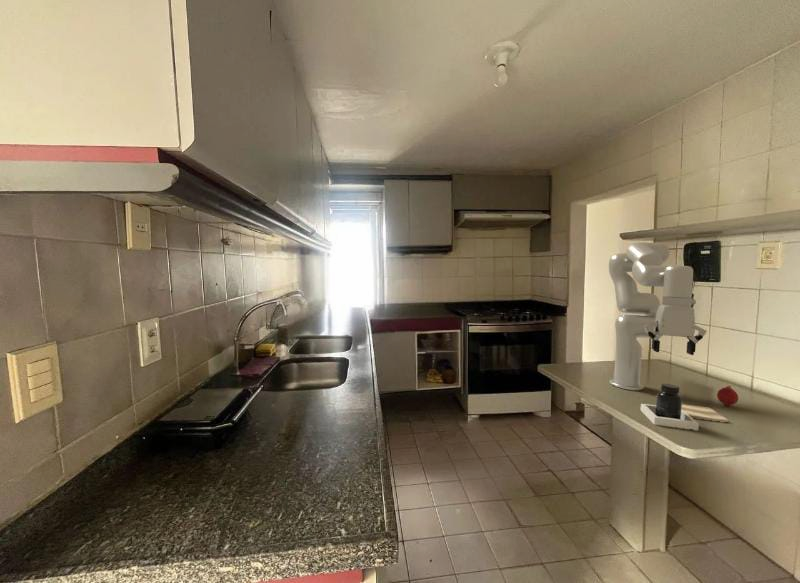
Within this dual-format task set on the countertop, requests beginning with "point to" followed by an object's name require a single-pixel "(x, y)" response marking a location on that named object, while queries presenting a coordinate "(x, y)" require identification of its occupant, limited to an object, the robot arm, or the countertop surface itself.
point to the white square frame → (685, 423)
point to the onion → (727, 396)
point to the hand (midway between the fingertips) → (672, 352)
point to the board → (703, 413)
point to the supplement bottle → (669, 402)
